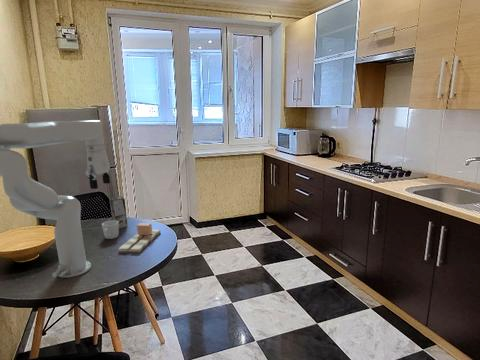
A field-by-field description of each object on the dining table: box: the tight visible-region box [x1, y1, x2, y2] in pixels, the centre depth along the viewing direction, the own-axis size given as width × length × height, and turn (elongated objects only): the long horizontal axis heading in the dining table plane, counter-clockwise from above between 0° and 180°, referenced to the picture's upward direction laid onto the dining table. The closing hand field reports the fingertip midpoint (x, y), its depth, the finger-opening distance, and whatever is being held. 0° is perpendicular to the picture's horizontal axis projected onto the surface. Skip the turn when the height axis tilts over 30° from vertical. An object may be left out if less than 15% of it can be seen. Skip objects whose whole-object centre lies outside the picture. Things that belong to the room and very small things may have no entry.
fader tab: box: [136, 222, 153, 236], centre depth 158 cm, size 4×6×6 cm, turn 81°
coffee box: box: [109, 195, 128, 229], centre depth 176 cm, size 9×6×16 cm
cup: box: [101, 220, 120, 240], centre depth 159 cm, size 11×8×8 cm
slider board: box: [117, 228, 161, 255], centre depth 154 cm, size 24×10×2 cm, turn 171°
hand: (100, 185), depth 143 cm, fingers open, 9 cm apart
